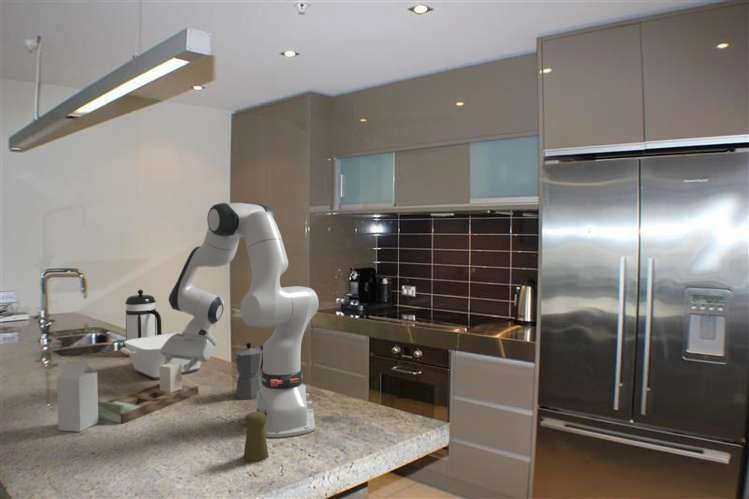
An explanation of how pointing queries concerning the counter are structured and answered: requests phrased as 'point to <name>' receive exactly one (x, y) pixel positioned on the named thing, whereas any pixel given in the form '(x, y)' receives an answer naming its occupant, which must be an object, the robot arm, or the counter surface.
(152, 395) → the box
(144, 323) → the coffee press
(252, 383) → the coffeepot
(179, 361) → the tub
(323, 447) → the counter surface
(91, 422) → the milk carton
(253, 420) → the olive tapered knob-topped piece
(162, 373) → the cream block
